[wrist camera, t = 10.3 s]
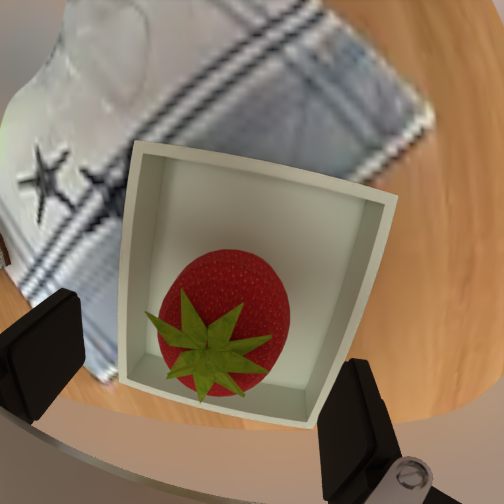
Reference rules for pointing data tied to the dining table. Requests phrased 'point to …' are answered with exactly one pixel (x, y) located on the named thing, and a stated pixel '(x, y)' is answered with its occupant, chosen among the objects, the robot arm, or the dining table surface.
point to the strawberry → (223, 323)
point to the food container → (3, 254)
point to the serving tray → (261, 244)
